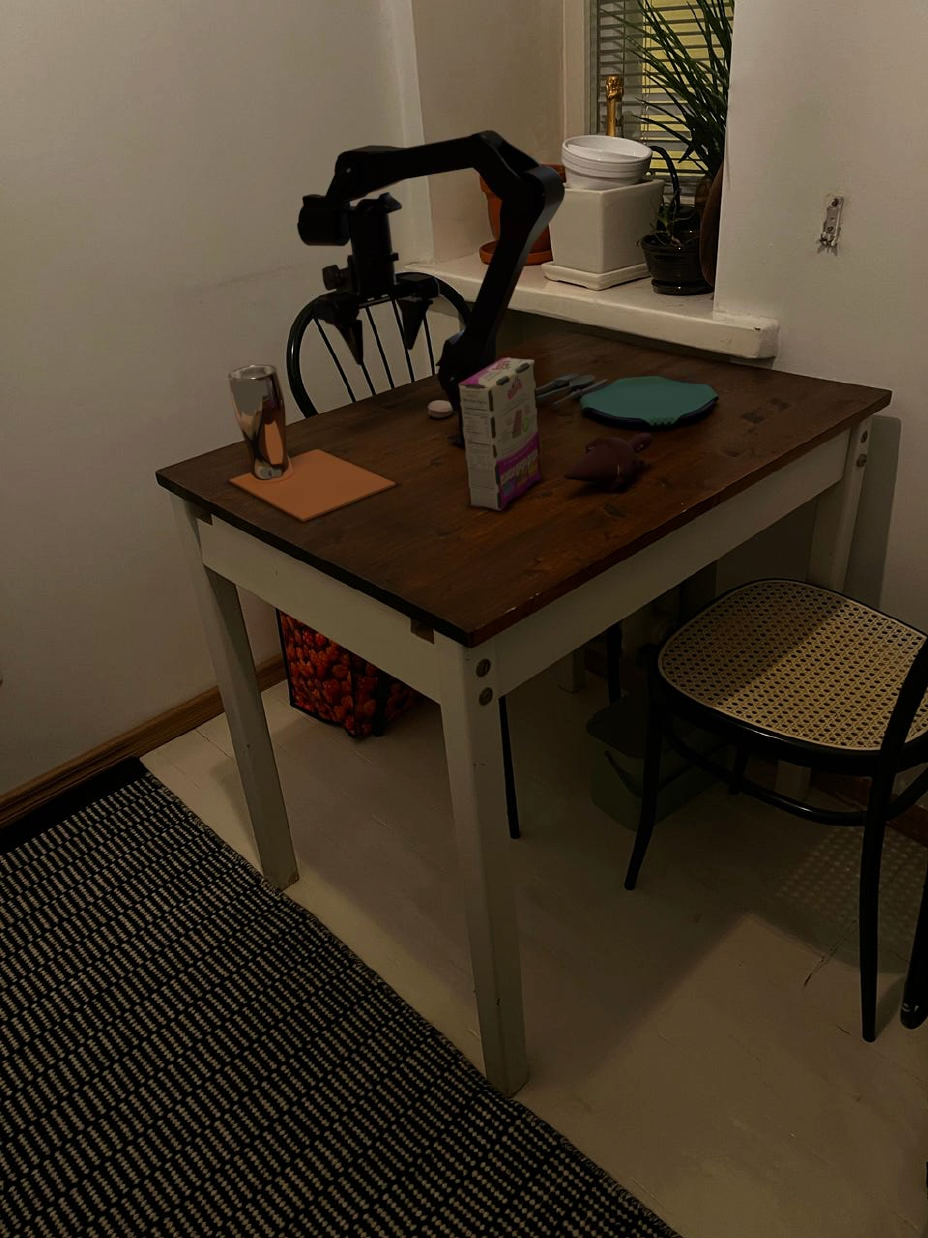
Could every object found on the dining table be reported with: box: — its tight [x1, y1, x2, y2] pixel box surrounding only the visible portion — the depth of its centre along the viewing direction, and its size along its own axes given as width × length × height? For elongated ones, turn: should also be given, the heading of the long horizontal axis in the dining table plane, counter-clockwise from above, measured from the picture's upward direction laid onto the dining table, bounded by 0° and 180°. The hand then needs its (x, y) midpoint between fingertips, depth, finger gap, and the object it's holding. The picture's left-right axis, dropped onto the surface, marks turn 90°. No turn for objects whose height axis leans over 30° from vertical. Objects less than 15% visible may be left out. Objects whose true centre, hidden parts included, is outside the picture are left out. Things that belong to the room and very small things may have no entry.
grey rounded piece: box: [427, 399, 454, 419], centre depth 153 cm, size 4×5×2 cm
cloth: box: [228, 448, 397, 523], centre depth 134 cm, size 20×15×1 cm
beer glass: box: [228, 364, 294, 483], centre depth 133 cm, size 7×7×15 cm
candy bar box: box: [458, 356, 542, 512], centre depth 122 cm, size 11×5×16 cm, turn 148°
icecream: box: [562, 432, 654, 492], centre depth 123 cm, size 7×7×15 cm
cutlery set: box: [536, 372, 720, 428], centre depth 151 cm, size 20×30×2 cm, turn 46°
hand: (385, 356), depth 142 cm, fingers open, 9 cm apart
